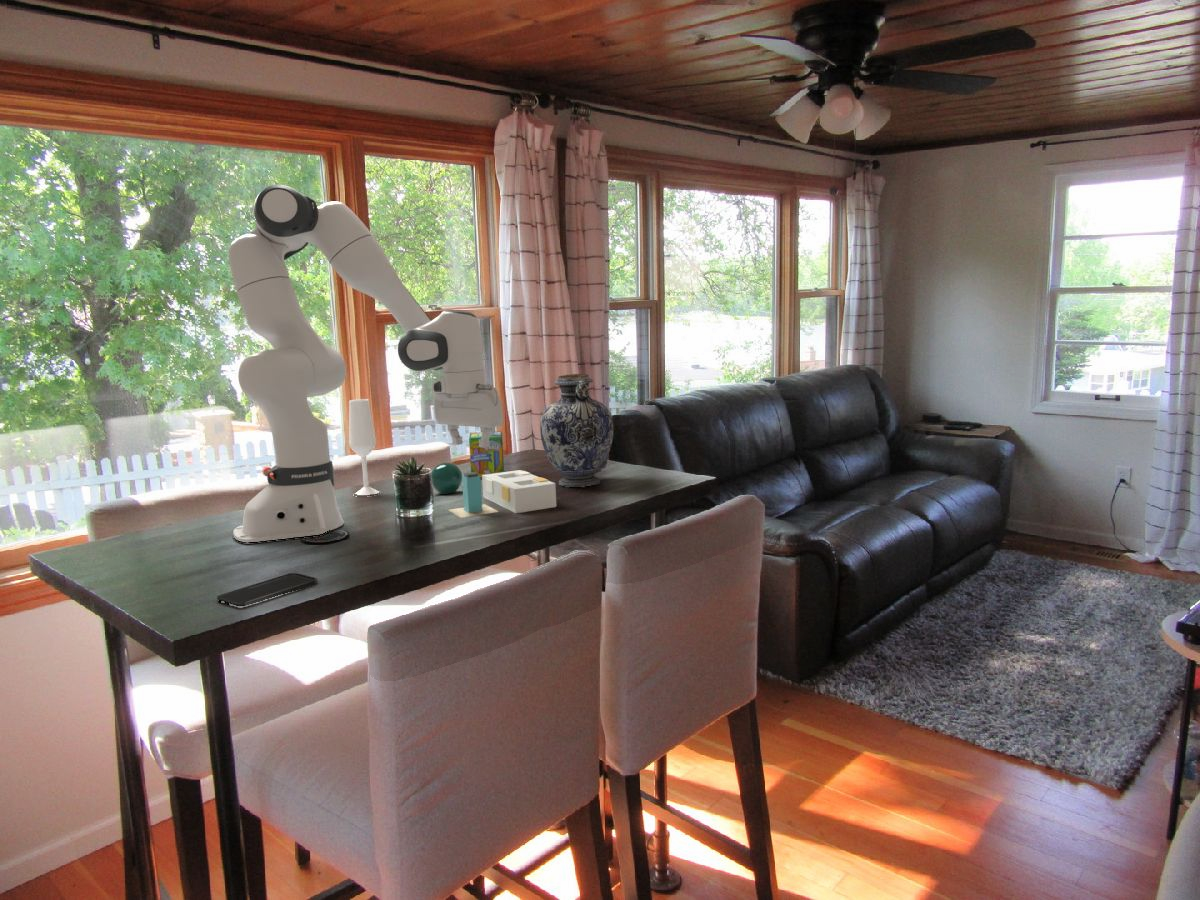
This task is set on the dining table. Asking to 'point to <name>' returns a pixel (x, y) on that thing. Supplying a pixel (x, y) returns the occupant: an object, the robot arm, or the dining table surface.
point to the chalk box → (486, 454)
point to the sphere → (446, 478)
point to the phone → (267, 589)
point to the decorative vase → (577, 432)
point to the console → (519, 491)
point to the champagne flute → (362, 437)
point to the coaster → (462, 513)
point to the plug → (472, 492)
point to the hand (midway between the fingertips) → (470, 445)
